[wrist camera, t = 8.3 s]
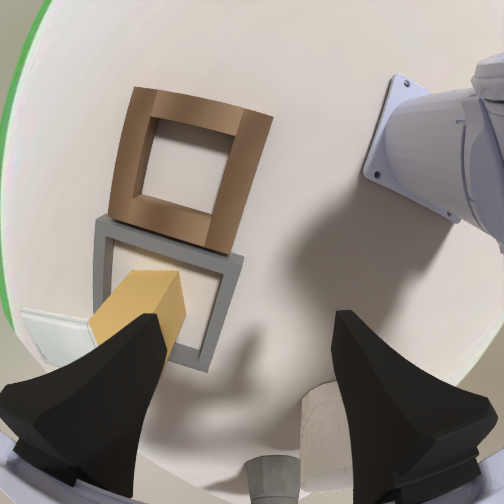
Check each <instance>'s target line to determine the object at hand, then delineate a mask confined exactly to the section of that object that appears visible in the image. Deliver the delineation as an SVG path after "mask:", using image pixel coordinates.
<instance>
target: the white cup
mask: <svg viewBox="0 0 504 504" xmlns="http://www.w3.org/2000/svg"><path fill="white" fill-rule="evenodd" d="M300 430H301V432H300V488H301V489H302V490H304V491H307V492H312V493H331V492H339V491H344V490H348V489H352V488H353V467H352V454H351V443H350V435H349V427H348V421H347V416H346V412H345V408H344V405H343V401H342V397H341V394H340V390H339V387H338V383H337V381H334V382H329V383H325V384H321V385H319V386H318V387H316V388H314V389H312V390H310V391H309V392H308V393H307V394H306V395H305V396H304V398H303V399H302V404H301V424H300Z"/></svg>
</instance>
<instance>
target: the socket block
mask: <svg viewBox="0 0 504 504" xmlns="http://www.w3.org/2000/svg"><path fill="white" fill-rule="evenodd" d="M159 118H162V119H167V120H172V121H177V122H181V123H186V124H190V125H195V126H199V127H203V128H207V129H211V130H215V131H219V132H222V133H226V134H230V135H233V136H235V139H234V142H233V146H232V149H231V152H230V155H229V159H228V162H227V165H226V169H225V172H224V175H223V179H222V182H221V186H220V189H219V193H218V196H217V200H216V203H215V207H214V211H213V214H208V213H205V212H201V211H198V210H195V209H191V208H188V207H185V206H181V205H178V204H174V203H171V202H167V201H164V200H161V199H157V198H154V197H150V196H146V195H143V194H141V193H142V188H143V183H144V178H145V173H146V169H147V164H148V160H149V155H150V151H151V147H152V143H153V139H154V135H155V131H156V127H157V123H158V120H159ZM273 118H274V117H272V116H269V115H266V114H262V113H259V112H256V111H252V110H249V109H245V108H241V107H238V106H234V105H230V104H226V103H222V102H218V101H213V100H209V99H205V98H200V97H195V96H190V95H185V94H180V93H174V92H168V91H162V90H156V89H149V88H142V87H134V89H133V92H132V96H131V99H130V103H129V106H128V110H127V114H126V118H125V122H124V126H123V130H122V134H121V139H120V143H119V148H118V153H117V158H116V163H115V169H114V174H113V180H112V187H111V193H110V201H109V208H108V217H111V218H114V219H117V220H120V221H123V222H126V223H129V224H133V225H136V226H139V227H142V228H145V229H148V230H152V231H155V232H158V233H161V234H164V235H168V236H171V237H174V238H177V239H180V240H184V241H187V242H190V243H193V244H197V245H200V246H203V247H206V248H210V249H213V250H216V251H219V252H223V253H226V254H229V255H230V252H231V249H232V246H233V243H234V239H235V236H236V233H237V230H238V226H239V223H240V220H241V217H242V214H243V210H244V207H245V204H246V201H247V198H248V194H249V191H250V188H251V185H252V182H253V179H254V176H255V173H256V169H257V166H258V163H259V160H260V157H261V154H262V151H263V148H264V145H265V142H266V139H267V136H268V133H269V130H270V127H271V124H272V121H273Z"/></svg>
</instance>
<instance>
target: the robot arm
mask: <svg viewBox="0 0 504 504" xmlns="http://www.w3.org/2000/svg"><path fill="white" fill-rule="evenodd" d="M404 81H405V82H407V84H408V87H406V86H405V85H404ZM471 82H472V85H473V87H474V88H468V89H461V90H453V91H447V92H441V93H435V94H433V93H432V92H430V91H428V90H427V89H425V88H424V87H422V86H421V85H419V84H417V83H416V82H414V81H412V80H411V79H409V78H407V77H406V76H404V75H402V74H395V75H394V76H393V78H392V81H391V85H390V88H389V92H388V95H387V98H386V102H385V105H384V108H383V111H382V115H381V118H380V121H379V124H378V127H377V130H376V133H375V136H374V139H373V142H372V145H371V148H370V151H369V154H368V156H367V159H366V162H365V165H364V167H363V175H364V177H365V178H367V179H369V180H371V181H374V182H376V183H378V184H380V185H382V186H385V187H387V188H389V189H391V190H393V191H395V192H397V193H399V194H401V195H403V196H405V197H407V198H409V199H411V200H413V201H415V202H417V203H419V204H421V205H423V206H425V207H427V208H429V209H430V210H432V211H434V212H436V213H438V214H440V215H441V216H443V217H445V218H447V219H449V220H450V221H452V222H454V223H456V224H457V223H459V222H460V221H461V219H463V220H465V221H466V222H468V223H470V224H472V225H473V226H475V227H477V228H479V229H480V230H482V231H484V232H485V233H487V234H489V235H490V236H492V237H493V238H494V239H496V241H497V242H498V244H499V247H500V252H501V253H502V254H503V255H504V53H501V54H498V55H495V56H492V57H489V58H487V59H484V60H482V61H480V62H479V63H478V64H477V67H476V70H475V75H474V76H473V77H472V79H471ZM377 171H378V172H379V176H378V178H375V177H374V173H375V172H377ZM447 212H449V214H447ZM167 351H168V350H167V347H166V344H165V340H164V337H163V334H162V331H161V327H160V324H159V320H158V317H157V314H155V313H143V314H141V315H140V316H138V317H137V318H136V319H134V320H133V321H131V322H130V323H129V324H128V325H126V326H125V327H124V328H122V329H121V330H120V331H118V332H117V333H116V334H114V335H113V336H112V337H110V338H109V339H108V340H106V341H105V342H103V343H102V344H100V345H99V346H98V347H96V348H95V349H93V350H92V351H90V352H89V353H87V354H86V355H84V356H82V357H81V358H79V359H77V360H75V361H73V362H72V363H70V364H68V365H66V366H63V367H61V368H59V369H57V370H55V371H52V372H50V373H48V374H45V375H42V376H40V377H36V378H33V379H30V380H27V381H22V382H18V383H13V384H8V385H6V386H5V387H4V389H3V390H2V391H1V393H0V418H1V419H2V420H3V421H4V422H5V423H6V425H7V426H8V427H9V428H10V429H11V430H12V431H13V432H14V433H15V434H16V435H17V436H18V437H19V440H18V441H17V442H16V441H14V440H13V439H12V438H10V437H9V436H8V435H6V434H5V433H3V432H2V431H1V430H0V490H1V491H2V492H3V493H4V494H6V495H7V496H8V497H9V498H10V499H11V500H12V501H13V502H14V503H16V504H147V503H143V502H140V501H136V500H133V499H130V498H132V497H133V481H134V469H135V462H136V454H137V449H138V444H139V438H140V434H141V430H142V425H143V421H144V418H145V415H146V412H147V409H148V406H149V404H150V401H151V399H152V396H153V394H154V391H155V389H156V386H157V384H158V381H159V379H160V376H161V374H162V371H163V367H164V364H165V359H166V355H167ZM331 353H332V360H333V367H334V372H335V376H336V379H337V383H338V387H339V390H340V394H341V397H342V401H343V405H344V408H345V412H346V416H347V421H348V427H349V435H350V443H351V454H352V467H353V504H504V448H502V449H500V450H499V451H497V452H495V453H493V454H492V455H490V456H488V457H487V458H485V459H483V460H482V461H481V462H479V463H477V460H476V457H477V456H478V455H479V451H478V449H477V446H478V445H479V444H480V443H481V441H482V440H483V439H484V438H485V437H486V436H487V435H488V434H489V433H490V432H491V430H492V429H493V428H494V427H495V425H496V423H497V420H498V416H497V414H496V412H495V410H494V408H493V406H492V405H491V403H490V401H489V399H488V398H487V397H484V396H481V395H477V394H474V393H471V392H468V391H465V390H462V389H459V388H457V387H455V386H452V385H450V384H448V383H446V382H444V381H441V380H439V379H438V378H436V377H434V376H432V375H430V374H428V373H427V372H425V371H423V370H422V369H420V368H418V367H417V366H415V365H414V364H412V363H411V362H409V361H408V360H406V359H405V358H404V357H402V356H401V355H400V354H398V353H397V352H396V351H395V350H394V349H392V348H391V347H390V346H389V345H388V344H386V343H385V342H384V341H383V340H382V339H381V338H380V337H378V336H377V335H376V334H375V333H374V332H373V331H372V330H371V329H370V328H369V327H368V326H367V325H366V324H365V323H364V322H363V321H362V320H361V319H360V318H359V317H358V316H357V315H356V314H355V313H354V312H353V311H352V310H341V311H336V316H335V324H334V331H333V339H332V345H331Z"/></svg>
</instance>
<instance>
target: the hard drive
mask: <svg viewBox="0 0 504 504" xmlns="http://www.w3.org/2000/svg"><path fill="white" fill-rule="evenodd" d="M20 315H21V317H22V320H23V322H24V324H25V326H26V328H27V331H28V333H29V335H30V337H31V339H32V341H33V343H34V345H35V347H36V348H37V350H38V352H39V354H40V356H41V358H42V360H43V361H44V362H45V363H48V364H51V365H54V366H57V367H60V368H61V367H63V366H66V365H68V364H70V363H72V362H73V361H75V360H77V359H79V358H81V357H82V356H84V355H86V354H87V353H89V352H90V351H92V350H93V349H95V348H96V347H98V344H97V342H96V339H95V337H94V334H93V332H92V330H91V327H90V325H89V322H88V321H89V320H90V319H87V318H80V317H74V316H68V315H62V314H57V313H51V312H46V311H41V310H36V309H31V308H26V307H24V308H23V309H21V311H20Z"/></svg>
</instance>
